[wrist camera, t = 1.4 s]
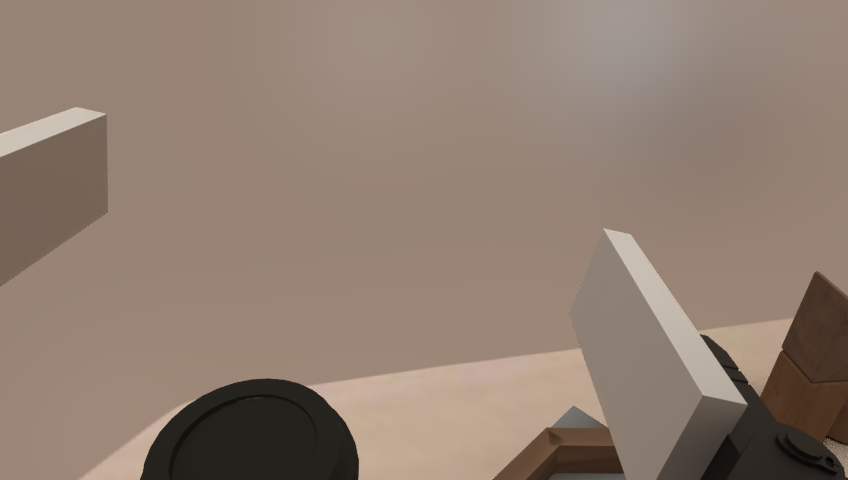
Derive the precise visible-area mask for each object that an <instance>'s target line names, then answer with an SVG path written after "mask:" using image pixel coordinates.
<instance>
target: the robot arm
mask: <svg viewBox="0 0 848 480" xmlns="http://www.w3.org/2000/svg"><path fill="white" fill-rule="evenodd" d="M107 212H108V175H107V114H104V113H100V112H96V111H91V110H87V109H82V108H78V107H75V108H72V109H69V110H66V111H64V112H61V113H58V114H55V115H52V116H49V117H47V118H44V119H41V120H38V121H35V122H32V123H30V124H27V125H24V126H21V127H18V128H16V129H13V130H10V131H7V132H4V133H1V134H0V286H2V285H3V284H5V283H6V282H7V281H9V280H11V279H12V278H13V277H15V276H16V275H18V274H19V273H21V272H22V271H24V270H25V269H26V268H28V267H29V266H31V265H32V264H34V263H35V262H37V261H38V260H39V259H41V258H42V257H44V256H45V255H47V254H48V253H49V252H51V251H53V250H54V249H55V248H57V247H58V246H60V245H61V244H63V243H64V242H65V241H67V240H68V239H70V238H71V237H73V236H74V235H76V234H77V233H79V232H80V231H81V230H83V229H84V228H86V227H87V226H89V225H90V224H92V223H93V222H94V221H96V220H97V219H99V218H100V217H102V216H103V215H105V214H106V213H107ZM569 315H570V318H571V321H572V324H573V327H574V330H575V333H576V335H577V338H578V341H579V344H580V347H581V350H582V353H583V356H584V359H585V361H586V364H587V367H588V370H589V373H590V376H591V379H592V382H593V385H594V387H595V390H596V393H597V396H598V399H599V402H600V405H601V408H602V410H603V413H604V416H605V419H606V422H607V425H608V428H609V431H610V434H611V436H612V439H613V442H614V445H615V448H616V451H617V454H618V457H619V460H620V462H621V465H622V468H623V471H624V474H625V477H626V480H848V478H846V477H845V472H844V468H843V466H842V465H841V463H840V462H839V460H838V459H837V457H836V456H835V455H834V454H833V453H832V452H831V451H830V450H829V449H827V448H826V447H825V446H824V445H823V444H822V443H820V442H819V441H817V440H816V439H814V438H813V437H811V436H810V435H809V434H807V433H805V432H803V431H801V430H799V429H797V428H795V427H792V426H790V425H786V424H783V423H779V422H777V420H776V419H775V418H774V416H773V415H772V413H771V412H770V411H769V409H768V408H767V407H766V405H765V404H764V403H763V401H762V400H761V398H760V397H759V396H758V394H757V393H756V392H755V390H754V389H753V387H752V386H751V385H748V381H747V379H746V378H745V376H744V375H743V374H742V372H741V371H738V369H739V368H738V367H737V365H736V364H735V363H734V361H733V360H732V359H731V357H730V356H729V355H728V353H727V352H726V351H725V350H724V349H722V348H721V347H720V346H719V345H718V344H716V343H715V342H714V341H713V340H712V339H710V338H709V337H708V336H705V335H700V334H699V333H698V332H697V330H696V329H695V327H694V326H693V324H692V323H691V321H690V320H689V319H688V317H687V316H686V314H685V313H684V311H683V310H682V308H681V307H680V305H679V304H678V303H677V301H676V300H675V298H674V297H673V295H672V294H671V293H670V291H669V290H668V288H667V287H666V285H665V284H664V282H663V281H662V280H661V278H660V276H659V275H658V274H657V272H656V271H655V269H654V268H653V266H652V265H651V264H650V262H649V261H648V259H647V258H646V256H645V255H644V253H643V252H642V250H641V249H640V247H639V246H638V245H637V243H636V242H635V240H634V239H633V237H632V236H631V235H630V234H626V233H621V232H617V231H613V230H608V229H604V228H603V230H602V232H601V235H600V237H599V240H598V242H597V245H596V248H595V250H594V253H593V255H592V258H591V260H590V263H589V266H588V268H587V270H586V273H585V276H584V278H583V281H582V283H581V285H580V288H579V290H578V293H577V295H576V298H575V300H574V303H573V306H572V308H571V310H570V313H569Z"/></svg>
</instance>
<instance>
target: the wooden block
mask: <svg viewBox="0 0 848 480" xmlns="http://www.w3.org/2000/svg"><path fill="white" fill-rule="evenodd" d="M782 349H783V350H782V351H781V352H780V354H779V356H778V358H777V360H776V363H775V365H774V367H773V369H772V372H771V374H770V376H769V378H768V381H767V383H766V385H765V387H764V390H763V392H762V394H761V396H760V398H761V400H762V401H763V403H764V404H765V405H766V407H767V408H768V409H769V411H770V412H771V413H772V415H773V416H774V418H775V419H776V420H777V422H779V423H783V424H786V425H790V426H792V427H795V428H797V429H799V430H801V431H803V432H805V433H807V434H809V435H810V436H811V437H813V438H814V439H816V440H817V441H819V442H820V443H822V442H823V441H824V439H825V437H826V436H829V437H831V438H833V439H835V440H837V441H839V442H842V443H845V444H848V296H847V295H845V294H844V293H843V292H842V291H841V290H839V288H837V287H836V286H835V285H834V284H833V283H832V282H830V281H829V280H828V279H827V278H826V277H825V276H823V275H822V274H821V273H820V272H817V271H816V272H815V273H814V275H813V278H812V280H811V282H810V284H809V287H808V289H807V291H806V293H805V296H804V298H803V300H802V302H801V304H800V307H799V309H798V311H797V313H796V316H795V318H794V320H793V322H792V324H791V327H790V329H789V331H788V333H787V336H786V338H785V340H784V342H783V345H782Z"/></svg>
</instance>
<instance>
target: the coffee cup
mask: <svg viewBox="0 0 848 480" xmlns="http://www.w3.org/2000/svg"><path fill="white" fill-rule="evenodd" d="M358 476H359V458H358V454H357V449H356V444H355V442H354V439H353V437H352V435H351V433H350V431H349V429H348V427H347V425H346V423H345V422H344V420H343V419H342V418H341V417H340V416H339V414H338V413H337V412H336V411H335V410H334V409H333V408H332V407H330V405H329V404H328V403H327V402H326V401H325V399H324V398H323V397H321V396H320V395H319V394H317V393H316V392H315V391H313V390H312V389H309V388H307V387H305V386H303V385H301V384H298V383H294V382H290V381H286V380H279V379H253V380H247V381H242V382H237V383H233V384H230V385H227V386H224V387H221V388H218V389H216V390H214V391H212V392H210V393H208V394H206V395H203V396H201V397H200V398H198V399H197V400H195V401H194V402H192V403H191V404H189V405H187V406H186V407H185V408H184V409H182V410H181V411H180V412H179V413H178V414H177V415H175V416H174V417H173V418H172V419H171V420H170V421H169V422H168V424H167V425H166V426H165V427H164V428H163V429H162V430H161V431H160V433H159V434H158V436H157V438H156V439H155V441H154V442H153V444H152V446H151V447H150V450H149V452H148V455H147V458H146V460H145V463H144V469H143V473H142V476H141V478H140V480H358Z"/></svg>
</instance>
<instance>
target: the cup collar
mask: <svg viewBox="0 0 848 480" xmlns="http://www.w3.org/2000/svg"><path fill="white" fill-rule="evenodd" d="M493 480H626V477H625V474H624V471H623V468H622V465H621V462H620V460H619V457H618V454H617V451H616V448H615V445H614V442H613V439H612V436H611V434H610V431H609V428H607V427H606V426H604V425H603V424H601V423H600V422H598V421H597V420H595V419H594V418H592V417H590V416H589V415H587V414H586V413H584V412H583V411H581V410H580V409H578V408H577V407H575V406H573V407H572V408H570V409H569V410H568V411H567V412H566V413H565V414H564V415H563V416H562V417H561V418H560V419H559V420H558V421H557V422H556V423H555V424H554V425H553V426H552V427H551V428H546V429H545V430H544V431H543V432H542V433H540V434H539V435H538V436H537V437H536V438H535V439H534V440H533V441H532V442H531V443H530V444H529V445H528V446H527V447H526V448H525V449H524V450H523V451H522V452H521V453H520V454H519V455H518V456H517V457H516V458H514V459H513V460H512V461H511V462H510V463H509V464H508V465H507V466H506V467H505V468H504V469H503V470H502V471H501V472H500V473H499V474H498V475H497V476H496V477H495V478H494V479H493Z"/></svg>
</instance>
